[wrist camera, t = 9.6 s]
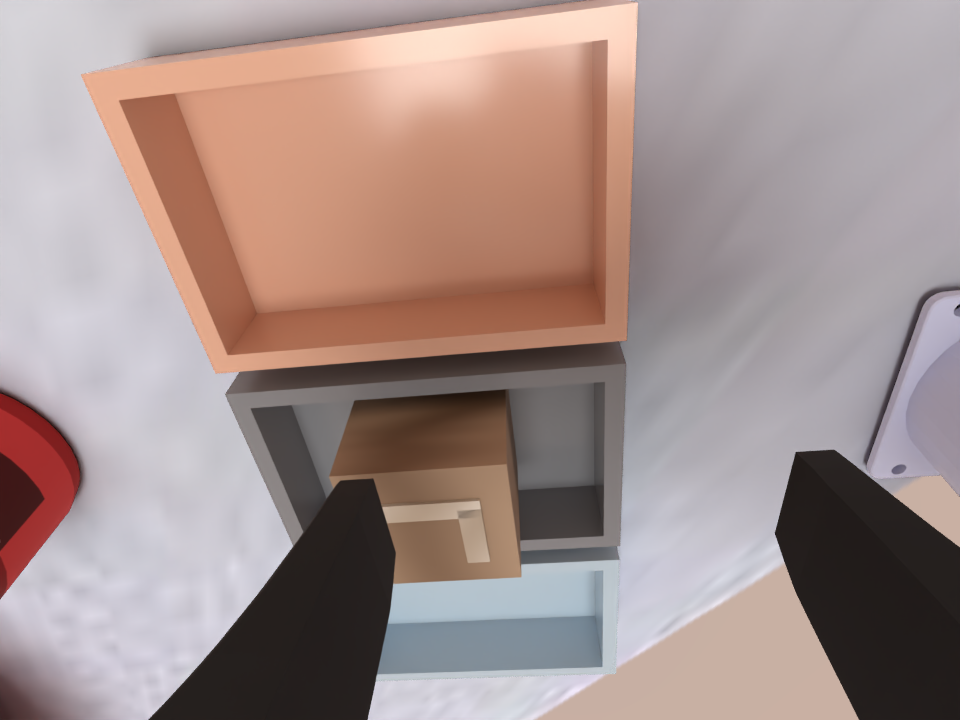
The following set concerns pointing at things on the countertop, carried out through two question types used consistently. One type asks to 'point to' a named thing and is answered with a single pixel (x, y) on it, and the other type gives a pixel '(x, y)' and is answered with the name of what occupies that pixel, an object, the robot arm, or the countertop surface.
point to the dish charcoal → (524, 372)
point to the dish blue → (509, 621)
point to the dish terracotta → (390, 185)
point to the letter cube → (440, 481)
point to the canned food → (30, 485)
